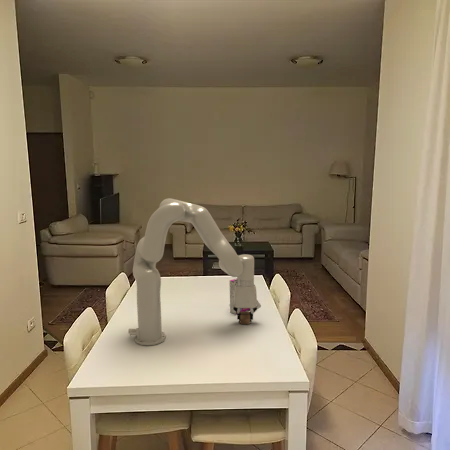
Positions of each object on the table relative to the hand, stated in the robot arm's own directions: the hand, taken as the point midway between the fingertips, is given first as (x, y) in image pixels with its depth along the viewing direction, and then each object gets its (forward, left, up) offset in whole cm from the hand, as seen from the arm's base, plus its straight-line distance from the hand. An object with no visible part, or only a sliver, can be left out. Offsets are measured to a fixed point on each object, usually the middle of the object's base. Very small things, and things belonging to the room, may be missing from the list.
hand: (245, 320), depth 183 cm
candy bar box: (-2, +14, -1) cm, 14 cm away
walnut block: (0, 0, -1) cm, 1 cm away
